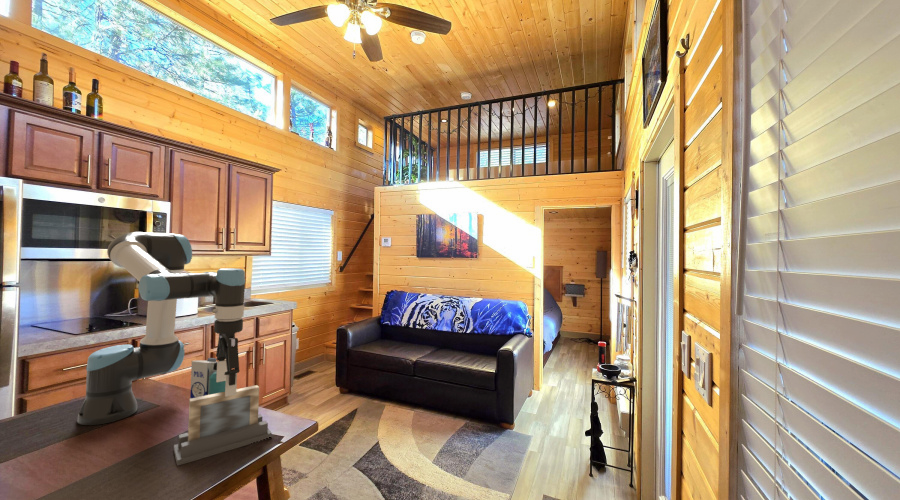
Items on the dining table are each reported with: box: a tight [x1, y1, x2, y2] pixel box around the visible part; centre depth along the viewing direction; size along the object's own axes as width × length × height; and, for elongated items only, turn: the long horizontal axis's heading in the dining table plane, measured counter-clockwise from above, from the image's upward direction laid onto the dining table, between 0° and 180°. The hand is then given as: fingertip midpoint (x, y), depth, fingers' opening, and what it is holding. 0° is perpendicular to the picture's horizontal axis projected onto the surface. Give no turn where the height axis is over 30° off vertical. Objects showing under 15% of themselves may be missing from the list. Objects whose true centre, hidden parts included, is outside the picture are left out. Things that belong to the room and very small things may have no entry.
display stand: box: [173, 413, 272, 467], centre depth 110 cm, size 24×10×4 cm, turn 132°
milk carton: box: [189, 357, 217, 399], centre depth 128 cm, size 7×7×20 cm
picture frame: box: [187, 384, 260, 441], centre depth 110 cm, size 18×3×14 cm, turn 132°
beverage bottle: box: [209, 361, 226, 395], centre depth 125 cm, size 6×7×20 cm
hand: (225, 388), depth 110 cm, fingers open, 13 cm apart
